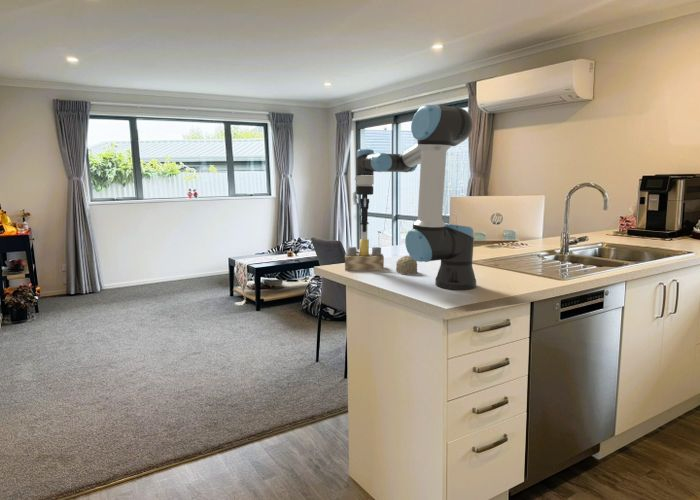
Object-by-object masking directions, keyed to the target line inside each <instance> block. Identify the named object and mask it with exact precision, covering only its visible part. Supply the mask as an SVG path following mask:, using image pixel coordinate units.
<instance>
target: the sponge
mask: <svg viewBox="0 0 700 500" xmlns="http://www.w3.org/2000/svg"><path fill="white" fill-rule="evenodd" d="M395 267H396V269H395V271H396V273H397V274H399V275H415V274H417V273H418V261H415V260H414V259H412V258H411V257H410V255H404V256H401V257H400V258H399V259H397V261H396V266H395Z"/></svg>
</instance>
